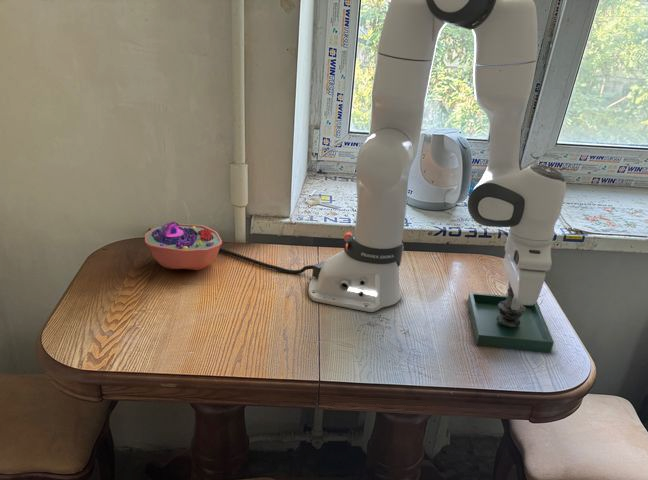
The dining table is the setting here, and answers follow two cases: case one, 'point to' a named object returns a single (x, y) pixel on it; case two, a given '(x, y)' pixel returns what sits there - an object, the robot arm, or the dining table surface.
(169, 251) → the cell model
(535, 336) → the tray
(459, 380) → the dining table surface
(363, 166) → the robot arm
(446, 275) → the dining table surface
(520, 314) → the dark grey chess piece
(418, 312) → the dining table surface
